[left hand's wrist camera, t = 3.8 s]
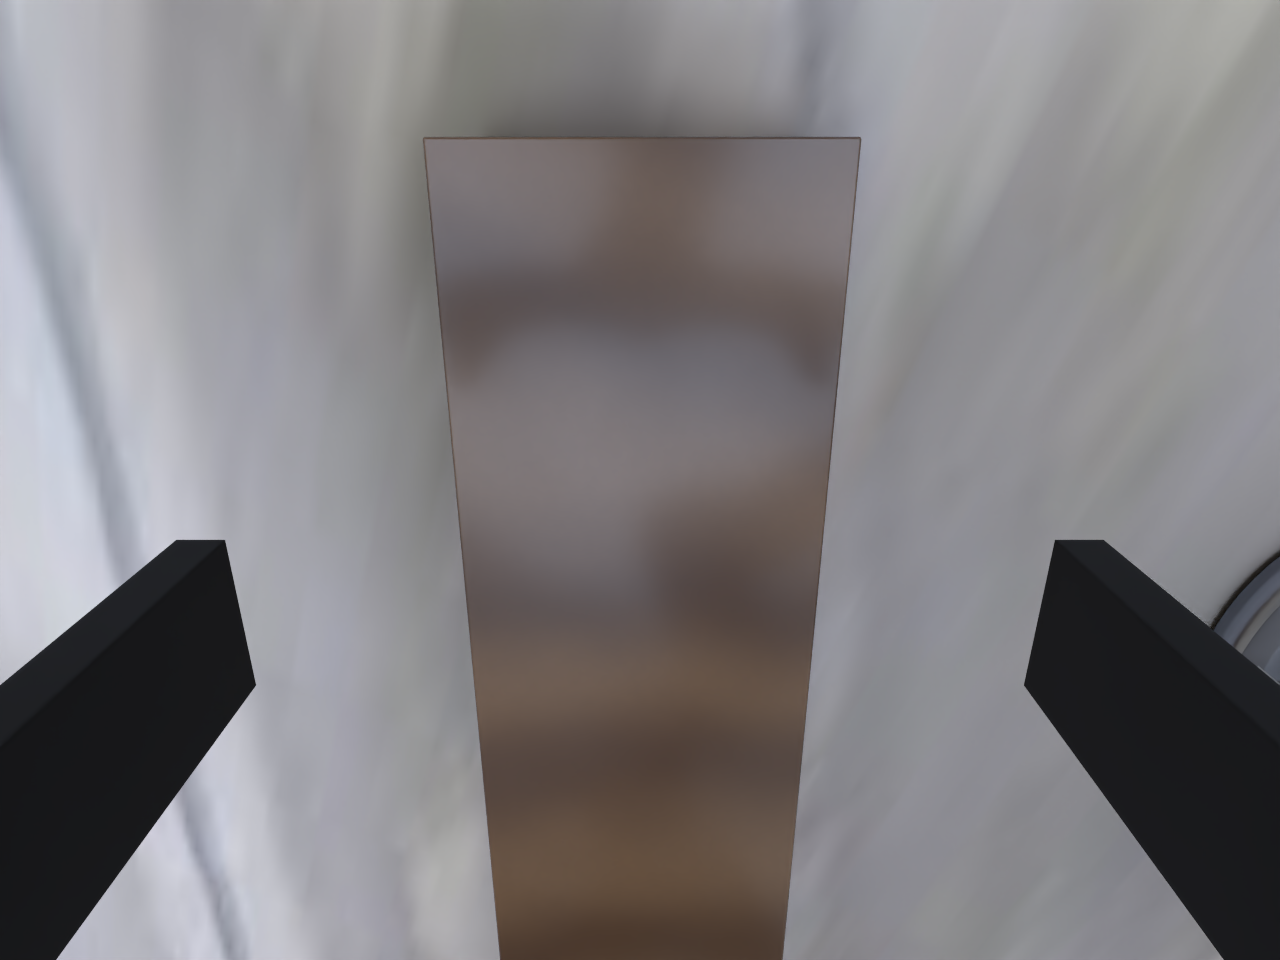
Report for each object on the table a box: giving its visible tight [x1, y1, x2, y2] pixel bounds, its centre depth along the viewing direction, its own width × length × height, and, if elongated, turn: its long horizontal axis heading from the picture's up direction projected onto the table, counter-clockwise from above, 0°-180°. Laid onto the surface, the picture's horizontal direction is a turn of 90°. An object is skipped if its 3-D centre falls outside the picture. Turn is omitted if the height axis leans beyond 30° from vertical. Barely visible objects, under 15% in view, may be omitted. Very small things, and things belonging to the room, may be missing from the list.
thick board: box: [423, 137, 861, 960], centre depth 32 cm, size 54×10×7 cm, turn 0°
